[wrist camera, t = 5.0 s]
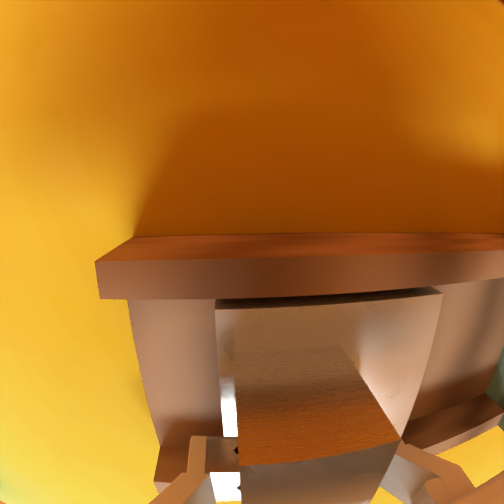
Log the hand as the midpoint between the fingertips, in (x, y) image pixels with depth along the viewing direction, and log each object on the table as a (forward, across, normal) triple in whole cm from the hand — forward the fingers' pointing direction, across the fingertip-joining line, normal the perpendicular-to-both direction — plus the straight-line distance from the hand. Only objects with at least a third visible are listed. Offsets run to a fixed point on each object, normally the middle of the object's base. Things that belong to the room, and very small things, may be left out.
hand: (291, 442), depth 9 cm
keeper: (+4, -2, 0) cm, 4 cm away
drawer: (+6, -6, 0) cm, 8 cm away
